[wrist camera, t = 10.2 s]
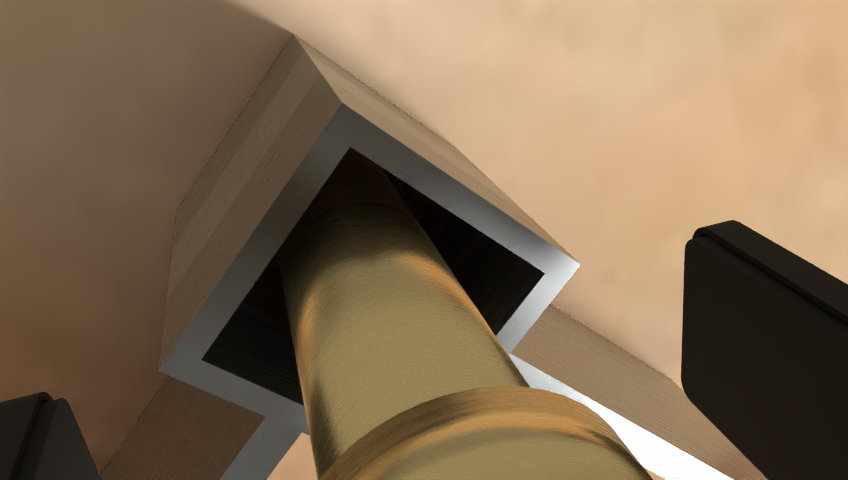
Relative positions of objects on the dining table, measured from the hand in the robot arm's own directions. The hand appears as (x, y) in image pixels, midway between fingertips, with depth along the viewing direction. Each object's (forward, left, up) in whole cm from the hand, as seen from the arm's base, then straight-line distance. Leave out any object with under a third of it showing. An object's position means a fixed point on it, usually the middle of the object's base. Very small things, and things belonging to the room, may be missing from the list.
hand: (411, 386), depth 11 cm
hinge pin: (0, 0, -10) cm, 10 cm away
